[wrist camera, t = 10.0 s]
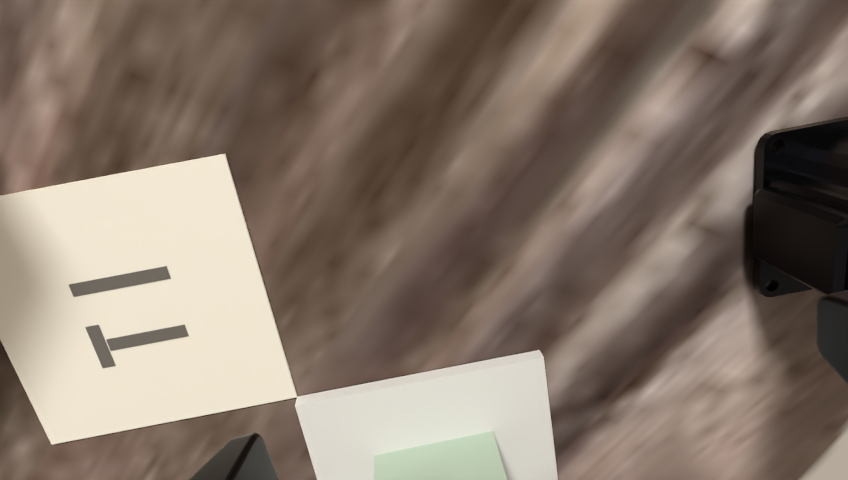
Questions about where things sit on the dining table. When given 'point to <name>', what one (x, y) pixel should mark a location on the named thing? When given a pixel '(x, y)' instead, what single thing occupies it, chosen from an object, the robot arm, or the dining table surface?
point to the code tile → (136, 301)
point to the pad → (434, 417)
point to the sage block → (444, 461)
